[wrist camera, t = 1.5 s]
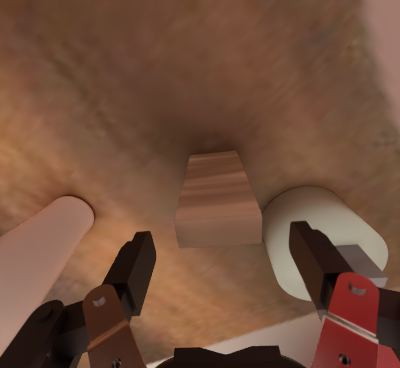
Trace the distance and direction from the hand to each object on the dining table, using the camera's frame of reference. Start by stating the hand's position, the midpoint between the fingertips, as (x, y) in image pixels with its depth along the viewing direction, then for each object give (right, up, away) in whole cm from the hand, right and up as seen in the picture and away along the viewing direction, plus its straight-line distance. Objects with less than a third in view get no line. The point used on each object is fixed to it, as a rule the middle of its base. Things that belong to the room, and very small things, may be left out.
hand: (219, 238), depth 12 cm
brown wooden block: (0, +6, +11) cm, 12 cm away
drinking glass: (-17, 0, +15) cm, 22 cm away
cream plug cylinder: (+11, -2, +14) cm, 18 cm away
